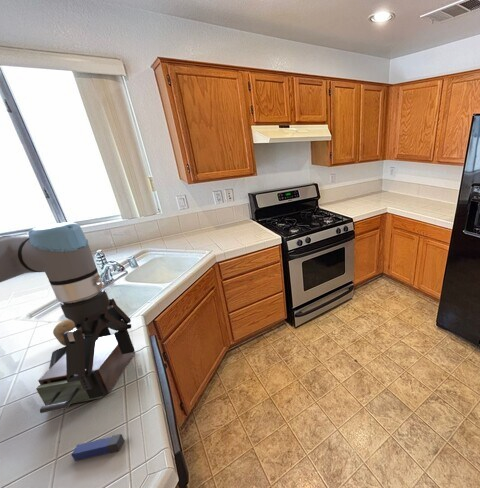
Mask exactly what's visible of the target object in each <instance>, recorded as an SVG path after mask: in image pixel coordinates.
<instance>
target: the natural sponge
mask: <svg viewBox="0 0 480 488" xmlns="http://www.w3.org/2000/svg"><path fill="white" fill-rule="evenodd" d="M73 329H75V324H74V321H72V320H70V319H67V318H65V319H64V320H62V321H60V322H58V323H57V324H56V325H55V327H54V328H53V331H52V334H53V336H54V337H55V338H56V340H57V342H59V343H60V344H61V345H62V346H66V343H65V340H64V338H63V334H64V333H65V332H69V331H72V330H73Z"/></svg>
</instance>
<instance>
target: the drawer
mask: <svg viewBox="0 0 480 488" xmlns="http://www.w3.org/2000/svg"><path fill="white" fill-rule="evenodd" d="M47 383H48V384H43V385H40V384H39V385H38V386H37V387H36V388H35V390H36V392H37V394H38V395H39V397H40V399H41V400H42V402H43V404H44V405H42V406H41V407H40V409H39V413H40V414H45V413H50V412H54V411H59V410H65V409H68V408H69V406H70V405H72V404H77V403H82V402H88V401H92V400H97V399H102V398H103V397H104V396H102V397H97V398H92V399H90V398H89V396H88V394H87V392H86V390H84V389H83V387H82V385H81V383H80V381H75V382H70V383H68V382H67V378H61V379H56V380H51V381H47Z"/></svg>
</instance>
